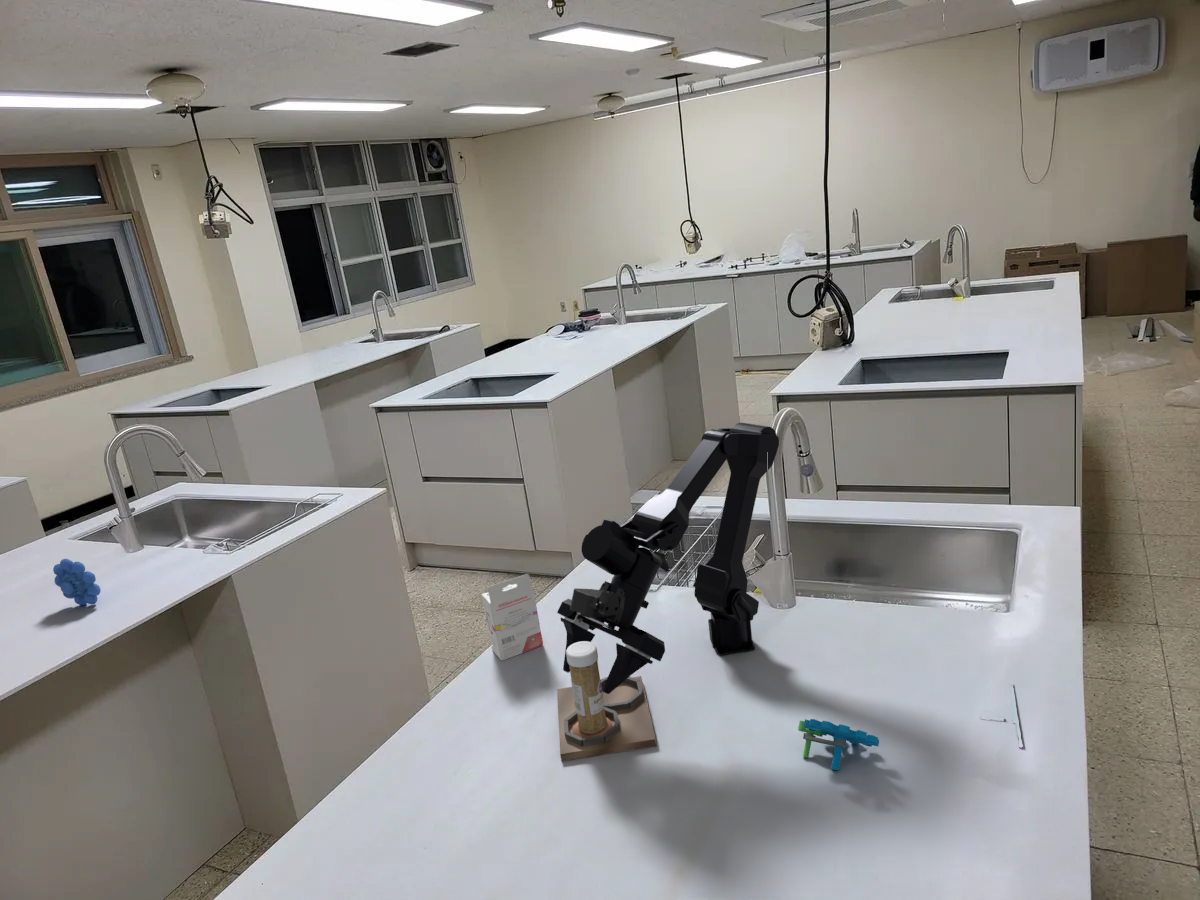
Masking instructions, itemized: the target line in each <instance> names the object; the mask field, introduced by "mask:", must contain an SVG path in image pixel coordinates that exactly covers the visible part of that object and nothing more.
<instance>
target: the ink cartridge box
mask: <svg viewBox="0 0 1200 900" xmlns="http://www.w3.org/2000/svg"><path fill="white" fill-rule="evenodd" d="M481 600H482V606H483V611H484V615H485V620H486V625H487V631H488V635H489V641H490V644H491V649H492V652H493V653H494V654H495V655H496V657H498V658H499V659H500V661H505V660H507V659H511V658H514V657H515V656H518V655H521V654H524V653H526V652H529V651H531V650H534V649H537V648H540V647H541V646H544V640H543V635H542V631H541V625H540V619H539V613H538V607H537V602H536V596H535V592H534V589H533V586H532V582H531V577H530V574H529V573H525V574H522V575H519V576H515V577H514V578H509V579H507V580H503V581H500V582H499V583H495V584H493V585H489V586H488V587H487V592H484V593H481ZM492 645H493V646H492Z"/></svg>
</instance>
